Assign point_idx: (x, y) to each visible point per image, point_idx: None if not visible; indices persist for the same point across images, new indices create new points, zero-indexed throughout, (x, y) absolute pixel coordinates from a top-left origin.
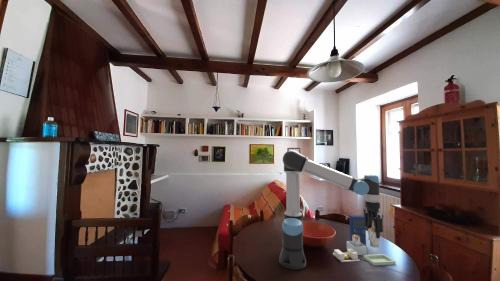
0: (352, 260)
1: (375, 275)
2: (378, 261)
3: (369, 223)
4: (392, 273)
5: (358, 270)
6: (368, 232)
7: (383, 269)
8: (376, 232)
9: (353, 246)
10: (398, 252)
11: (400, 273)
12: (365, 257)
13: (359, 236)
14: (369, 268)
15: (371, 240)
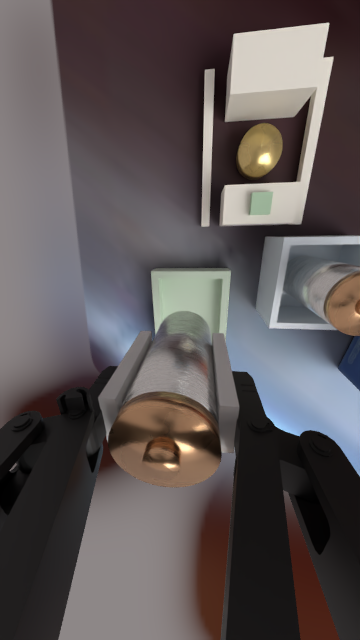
0: (204, 172)
1: (83, 221)
2: (160, 303)
3: (234, 518)
4: (104, 308)
5: (120, 155)
6: (225, 372)
7: (132, 295)
8: (94, 408)
9: (294, 237)
10: None
11: (106, 336)
12: (211, 270)
13: (338, 325)
14: (140, 235)
15: (170, 329)
